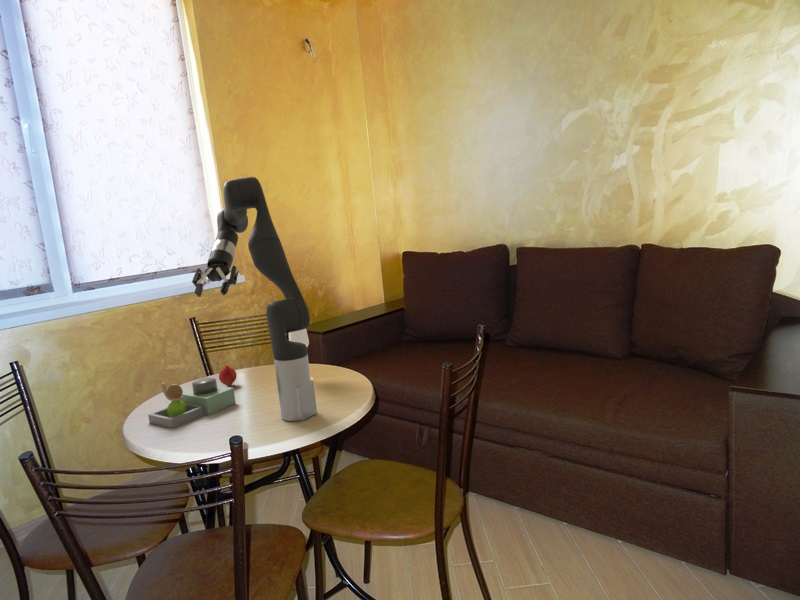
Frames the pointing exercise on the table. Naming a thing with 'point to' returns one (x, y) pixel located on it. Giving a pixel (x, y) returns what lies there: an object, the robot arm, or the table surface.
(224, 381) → the onion
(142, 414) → the table surface
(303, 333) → the champagne flute
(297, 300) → the robot arm
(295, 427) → the table surface
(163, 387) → the snail figurine
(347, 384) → the table surface
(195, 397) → the box with drawer
